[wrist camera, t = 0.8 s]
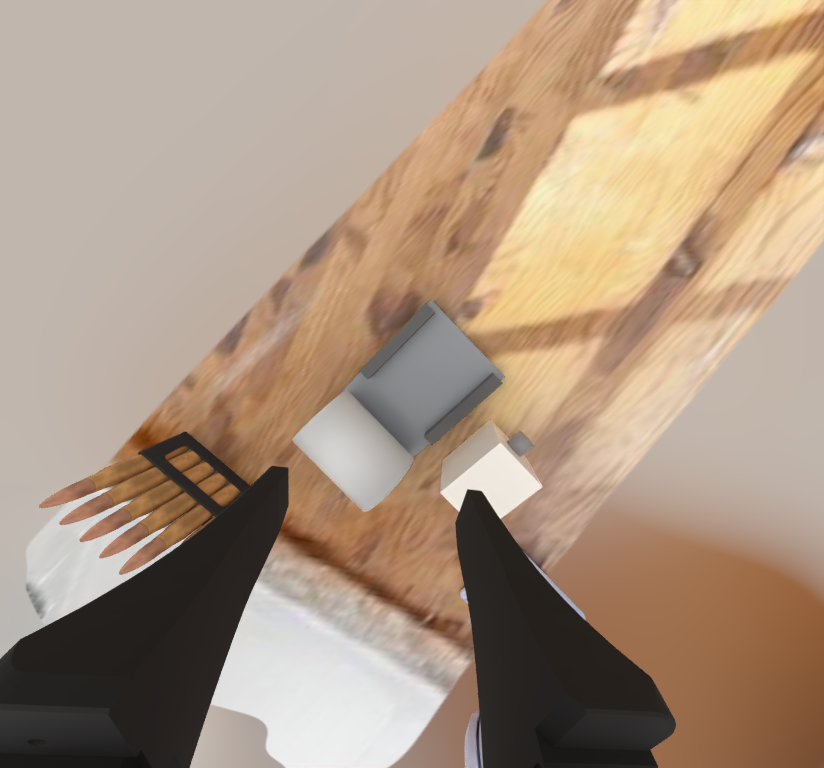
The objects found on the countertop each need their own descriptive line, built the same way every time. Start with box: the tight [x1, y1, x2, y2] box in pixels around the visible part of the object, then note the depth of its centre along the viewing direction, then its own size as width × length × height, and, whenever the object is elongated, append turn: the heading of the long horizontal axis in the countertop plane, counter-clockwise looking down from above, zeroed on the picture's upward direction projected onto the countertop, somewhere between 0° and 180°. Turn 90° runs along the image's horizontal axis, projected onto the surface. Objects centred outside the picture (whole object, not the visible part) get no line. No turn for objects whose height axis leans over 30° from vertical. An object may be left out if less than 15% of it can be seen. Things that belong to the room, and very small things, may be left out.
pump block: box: [440, 419, 543, 519], centre depth 26 cm, size 4×7×6 cm, turn 135°
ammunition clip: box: [39, 432, 250, 575], centre depth 27 cm, size 11×2×12 cm, turn 50°
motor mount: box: [292, 300, 505, 512], centre depth 25 cm, size 9×16×7 cm, turn 135°
